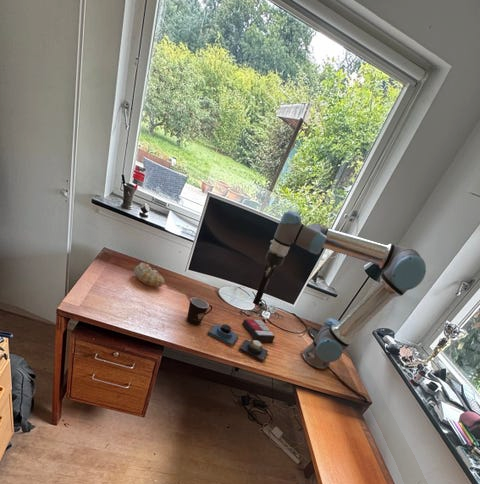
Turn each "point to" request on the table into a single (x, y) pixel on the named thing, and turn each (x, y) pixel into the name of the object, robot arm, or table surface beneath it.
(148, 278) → the nautilus
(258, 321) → the calculator
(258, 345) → the cream key
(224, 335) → the blue key block
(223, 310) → the table surface
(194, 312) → the coffee mug
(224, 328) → the dark key
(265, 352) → the black key block
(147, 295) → the table surface
